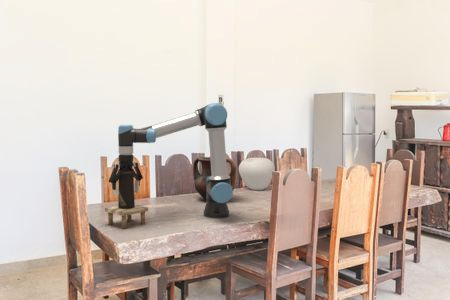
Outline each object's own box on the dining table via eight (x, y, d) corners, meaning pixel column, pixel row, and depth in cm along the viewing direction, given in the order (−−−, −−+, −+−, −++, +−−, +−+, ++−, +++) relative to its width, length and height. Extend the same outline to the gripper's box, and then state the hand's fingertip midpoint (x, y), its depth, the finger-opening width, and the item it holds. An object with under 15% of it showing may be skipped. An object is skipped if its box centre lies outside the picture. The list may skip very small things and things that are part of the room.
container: (119, 205, 237) (119, 169, 236) (136, 205, 238) (136, 169, 236) (116, 209, 229) (115, 171, 227) (133, 209, 229) (133, 171, 227)
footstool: (148, 223, 235) (148, 207, 234) (123, 229, 223) (123, 212, 222) (129, 219, 245) (129, 203, 244) (105, 224, 233) (105, 207, 232)
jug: (241, 197, 312) (242, 155, 309) (232, 205, 284) (232, 159, 282) (198, 195, 319) (198, 154, 317) (185, 202, 292) (185, 158, 290)
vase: (257, 185, 367) (257, 156, 365) (281, 189, 347) (281, 158, 345) (232, 188, 349) (232, 158, 347) (255, 193, 329) (256, 160, 327)
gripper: (140, 152, 243) (140, 190, 245) (101, 155, 224) (102, 196, 226) (149, 153, 238) (149, 191, 240) (109, 156, 219) (110, 198, 221)
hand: (126, 194), depth 233 cm, fingers open, 13 cm apart
